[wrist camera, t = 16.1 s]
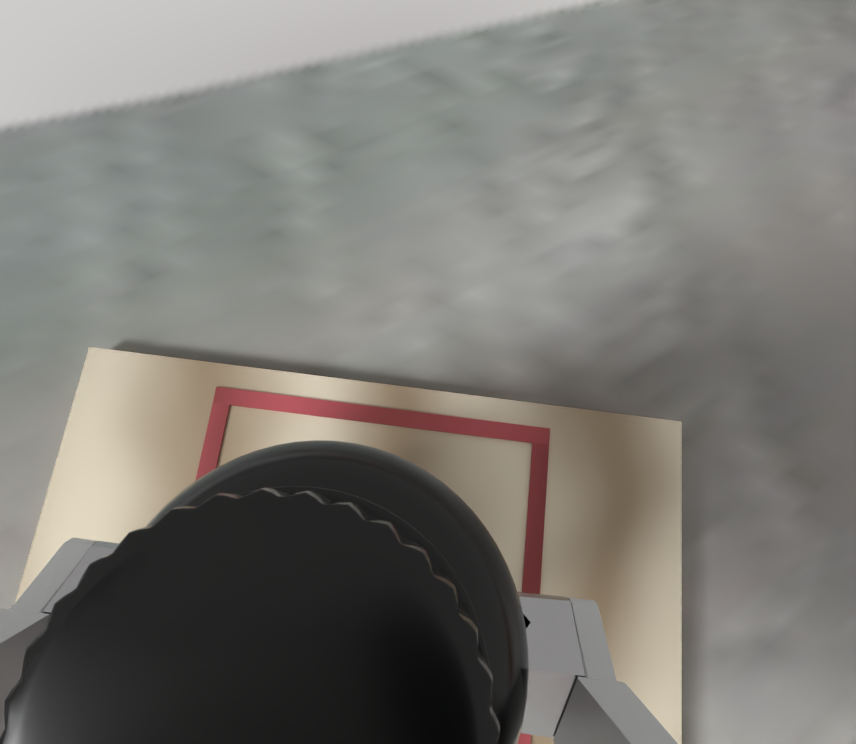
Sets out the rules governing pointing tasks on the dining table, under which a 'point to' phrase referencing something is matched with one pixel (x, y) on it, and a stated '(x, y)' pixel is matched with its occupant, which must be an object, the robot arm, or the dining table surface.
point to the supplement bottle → (287, 616)
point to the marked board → (425, 447)
